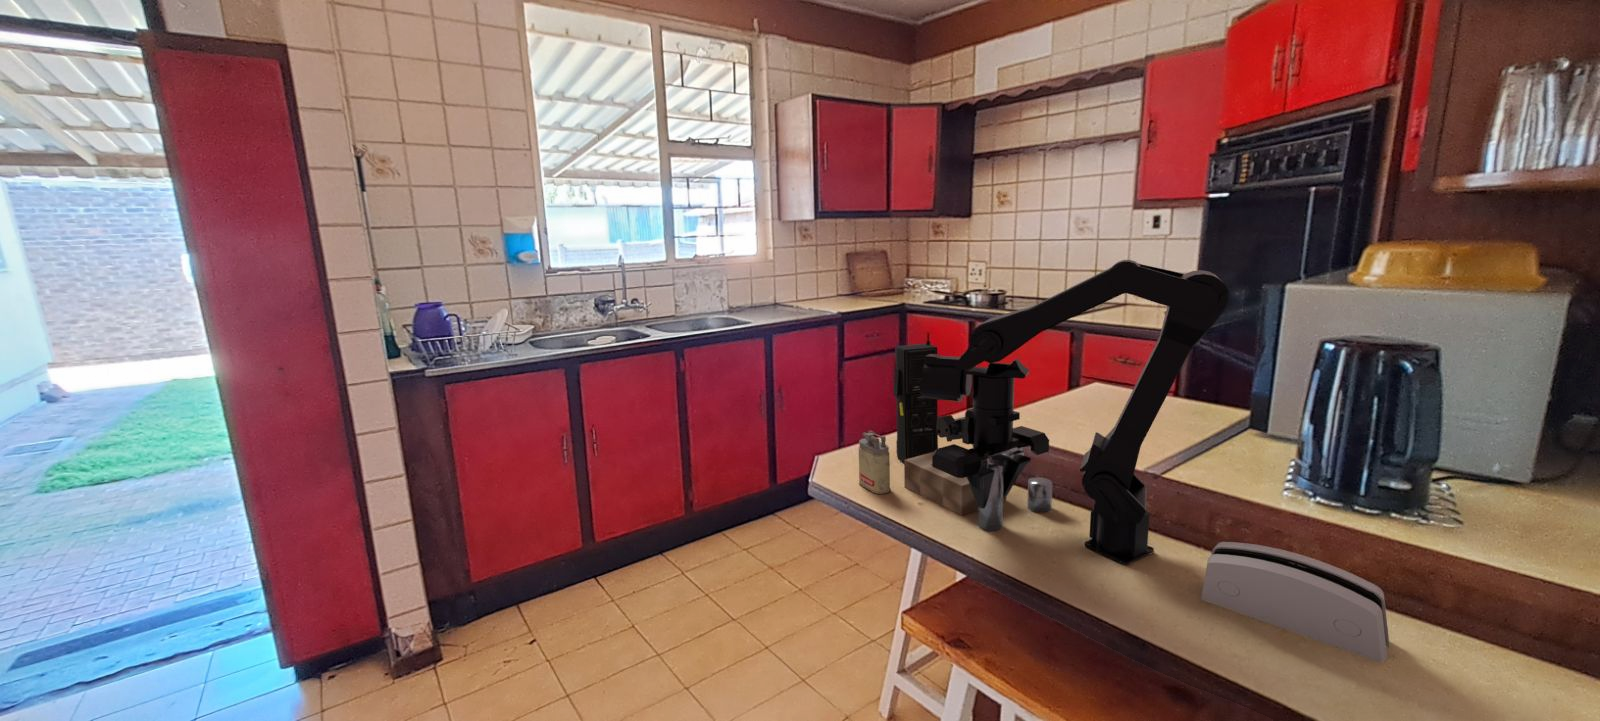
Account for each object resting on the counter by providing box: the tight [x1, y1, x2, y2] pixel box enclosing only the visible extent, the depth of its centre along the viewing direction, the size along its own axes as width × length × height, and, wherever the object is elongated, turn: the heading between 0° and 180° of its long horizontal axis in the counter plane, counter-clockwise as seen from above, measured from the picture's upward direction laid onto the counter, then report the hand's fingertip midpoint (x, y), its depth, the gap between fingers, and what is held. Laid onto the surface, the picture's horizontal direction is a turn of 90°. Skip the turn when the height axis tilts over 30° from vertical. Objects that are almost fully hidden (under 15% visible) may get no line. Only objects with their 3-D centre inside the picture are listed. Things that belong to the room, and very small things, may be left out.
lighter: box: [858, 430, 891, 495], centre depth 112 cm, size 7×4×10 cm, turn 28°
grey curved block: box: [1200, 541, 1390, 664], centre depth 70 cm, size 17×5×10 cm, turn 42°
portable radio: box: [893, 331, 939, 463], centre depth 122 cm, size 8×6×25 cm
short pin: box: [1026, 476, 1053, 514], centre depth 102 cm, size 4×4×4 cm
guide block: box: [903, 452, 1007, 516], centre depth 108 cm, size 14×10×5 cm
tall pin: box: [977, 458, 1004, 532], centre depth 96 cm, size 4×4×10 cm
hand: (990, 504), depth 96 cm, fingers closed on tall pin, 4 cm apart
